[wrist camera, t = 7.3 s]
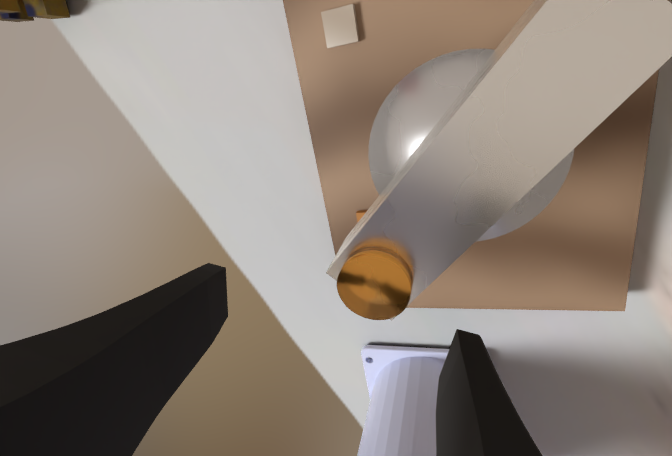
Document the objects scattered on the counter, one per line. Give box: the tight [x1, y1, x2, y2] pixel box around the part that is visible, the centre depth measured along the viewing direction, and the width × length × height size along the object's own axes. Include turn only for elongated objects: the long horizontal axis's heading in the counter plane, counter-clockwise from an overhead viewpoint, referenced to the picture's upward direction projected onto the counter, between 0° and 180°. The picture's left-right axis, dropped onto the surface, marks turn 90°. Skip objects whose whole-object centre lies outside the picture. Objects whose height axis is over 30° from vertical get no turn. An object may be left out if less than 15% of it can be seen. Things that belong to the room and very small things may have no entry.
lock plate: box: [283, 0, 669, 311], centre depth 15 cm, size 20×14×6 cm
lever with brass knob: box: [326, 0, 672, 320], centre depth 10 cm, size 9×6×5 cm, turn 148°
